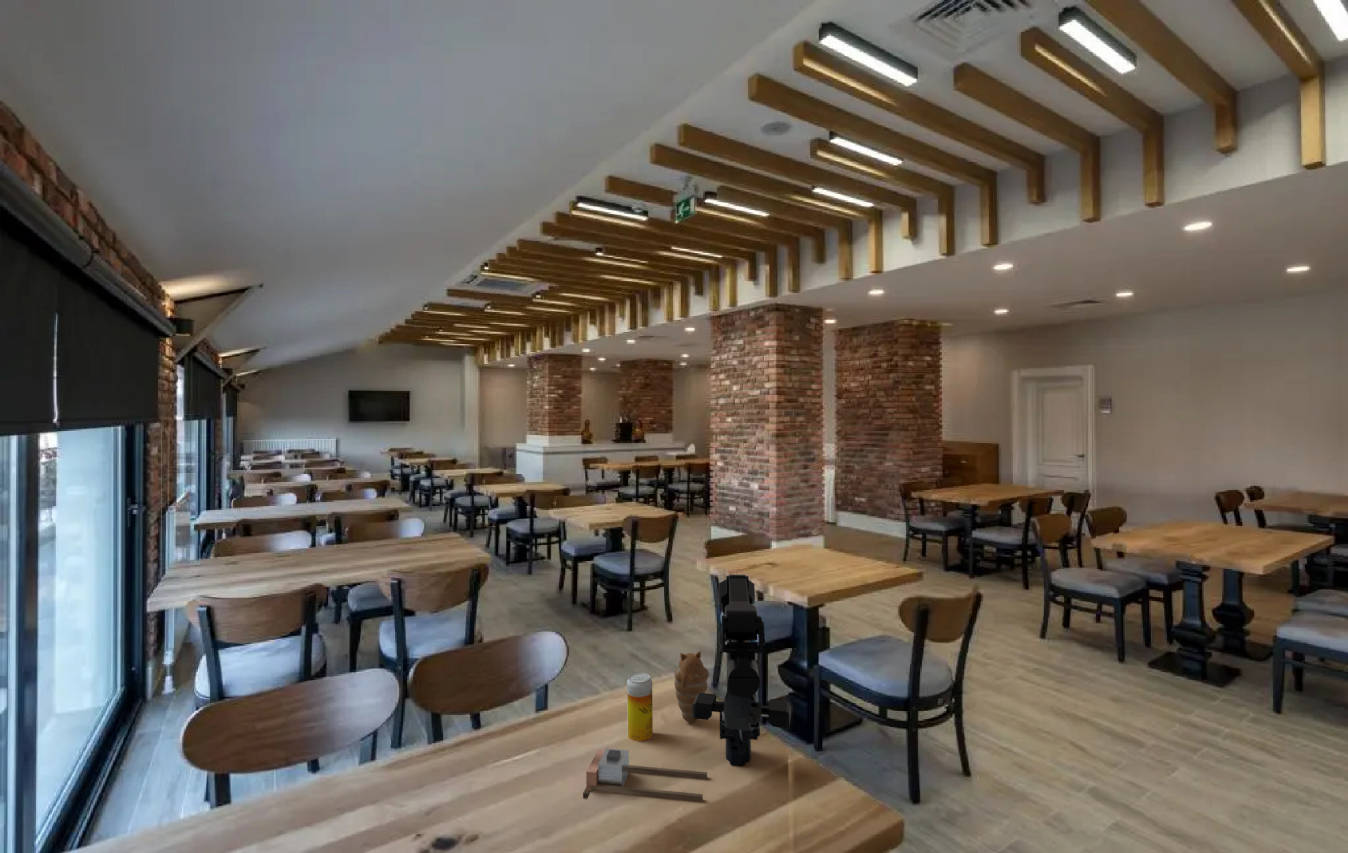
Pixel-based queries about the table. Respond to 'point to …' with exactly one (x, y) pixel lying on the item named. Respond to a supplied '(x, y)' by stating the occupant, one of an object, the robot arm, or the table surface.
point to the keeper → (613, 767)
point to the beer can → (639, 707)
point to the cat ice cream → (690, 682)
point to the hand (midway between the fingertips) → (741, 752)
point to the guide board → (594, 786)
